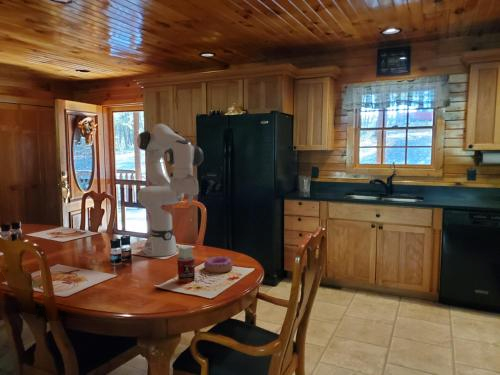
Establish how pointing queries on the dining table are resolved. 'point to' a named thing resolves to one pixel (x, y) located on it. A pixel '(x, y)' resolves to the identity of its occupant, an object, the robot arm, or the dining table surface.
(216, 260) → the donut
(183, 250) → the sage block
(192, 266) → the canned food
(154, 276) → the dining table surface
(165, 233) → the robot arm
